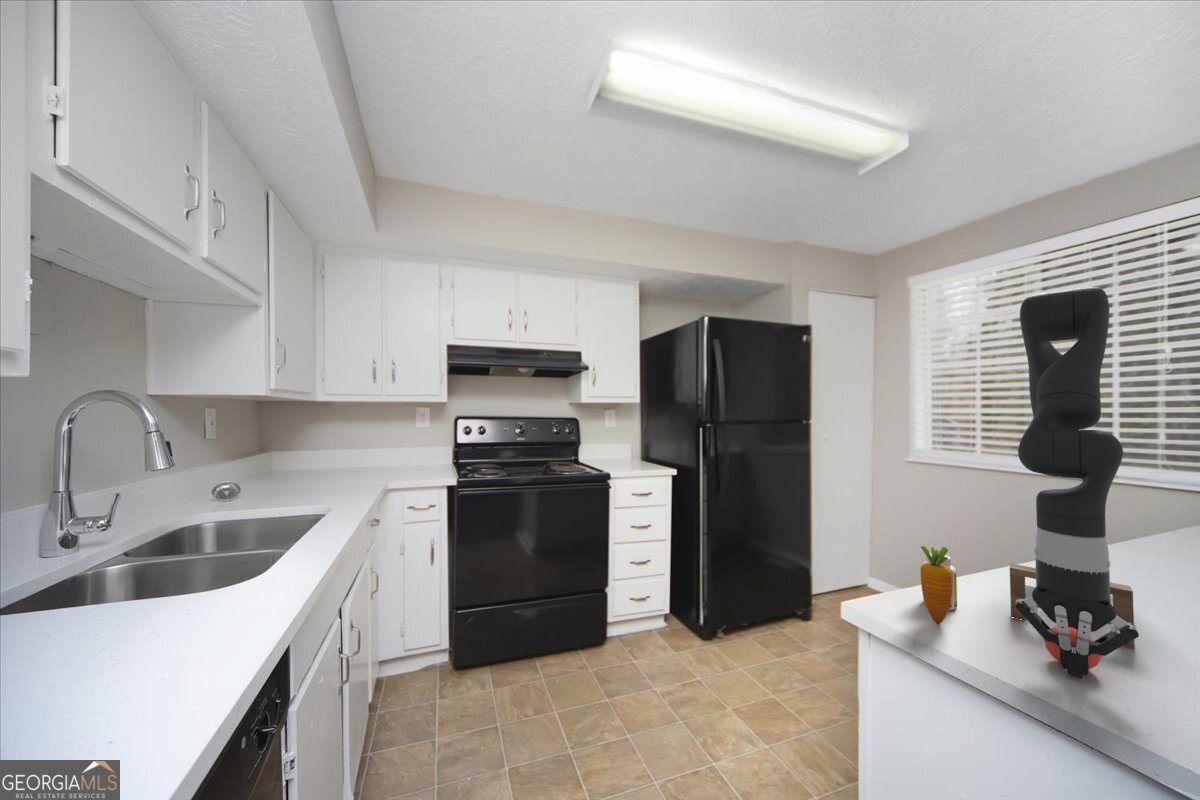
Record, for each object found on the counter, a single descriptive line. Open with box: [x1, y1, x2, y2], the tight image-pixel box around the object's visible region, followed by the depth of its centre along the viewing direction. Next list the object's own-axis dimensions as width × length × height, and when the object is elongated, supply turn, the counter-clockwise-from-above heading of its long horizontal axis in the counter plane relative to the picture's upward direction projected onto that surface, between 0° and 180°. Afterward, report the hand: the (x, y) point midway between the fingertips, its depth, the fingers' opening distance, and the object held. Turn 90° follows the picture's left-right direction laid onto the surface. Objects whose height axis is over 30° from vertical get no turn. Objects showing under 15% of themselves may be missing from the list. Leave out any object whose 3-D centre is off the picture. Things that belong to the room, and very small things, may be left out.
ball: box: [1043, 625, 1102, 670], centre depth 67 cm, size 6×6×6 cm
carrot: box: [920, 545, 953, 625], centre depth 80 cm, size 5×5×15 cm
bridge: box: [1009, 563, 1135, 649], centre depth 78 cm, size 3×15×10 cm, turn 44°
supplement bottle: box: [921, 552, 958, 611], centre depth 88 cm, size 6×6×10 cm
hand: (1074, 673), depth 64 cm, fingers closed
